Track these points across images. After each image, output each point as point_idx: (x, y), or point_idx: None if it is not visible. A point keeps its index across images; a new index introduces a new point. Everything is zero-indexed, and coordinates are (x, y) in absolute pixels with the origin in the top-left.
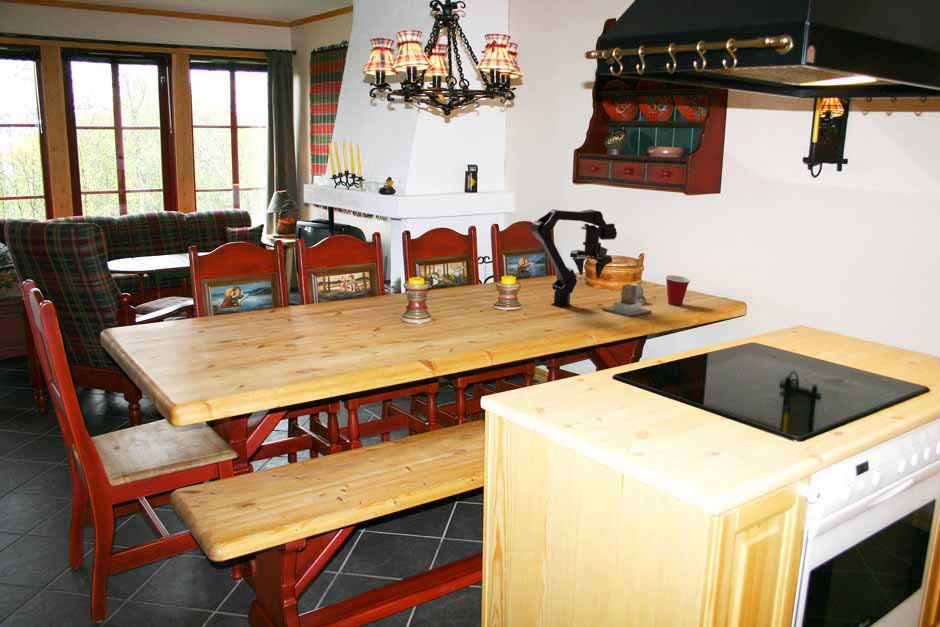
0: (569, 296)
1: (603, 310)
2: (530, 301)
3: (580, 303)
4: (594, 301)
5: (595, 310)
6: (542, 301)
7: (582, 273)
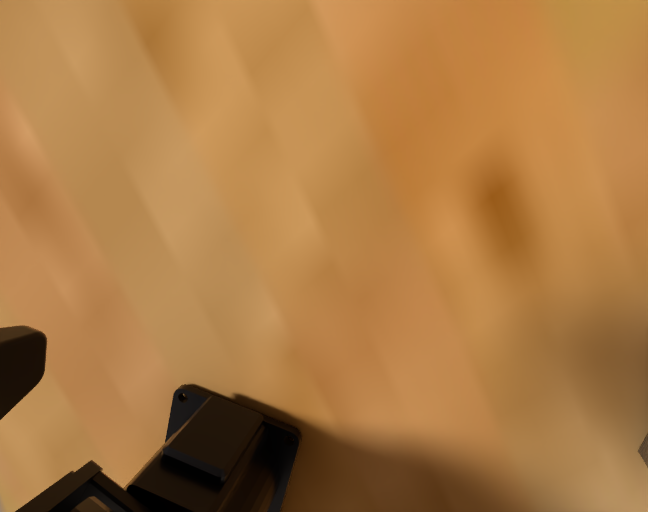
0: (238, 481)
1: (643, 453)
2: (13, 449)
3: (310, 283)
4: (381, 84)
5: (559, 479)
6: (60, 403)
7: (25, 339)
